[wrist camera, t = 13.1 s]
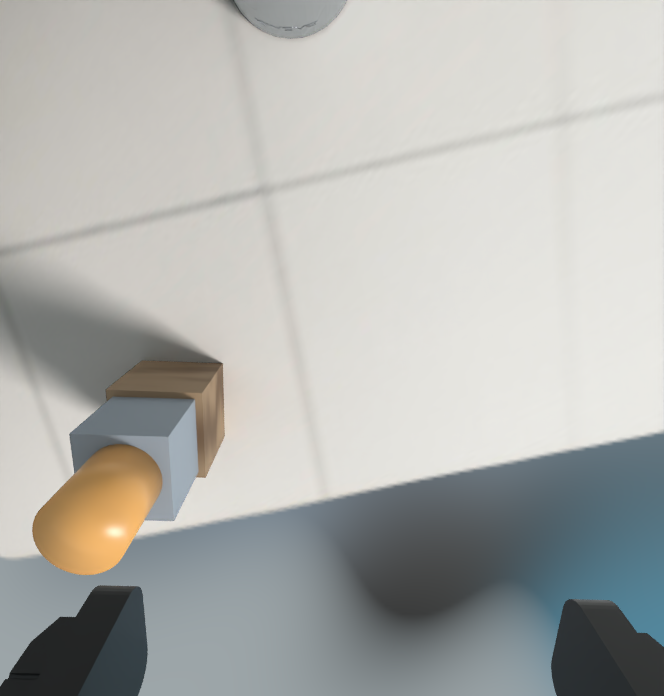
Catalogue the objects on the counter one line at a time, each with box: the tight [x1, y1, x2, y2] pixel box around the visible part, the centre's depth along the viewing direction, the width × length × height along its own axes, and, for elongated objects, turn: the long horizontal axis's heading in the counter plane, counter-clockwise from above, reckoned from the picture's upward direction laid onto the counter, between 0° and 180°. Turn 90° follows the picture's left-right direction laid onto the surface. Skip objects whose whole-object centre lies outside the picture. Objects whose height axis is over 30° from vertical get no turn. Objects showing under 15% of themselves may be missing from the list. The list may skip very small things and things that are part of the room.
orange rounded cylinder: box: [32, 444, 163, 575], centre depth 27 cm, size 5×5×6 cm
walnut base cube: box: [106, 361, 225, 478], centre depth 39 cm, size 7×7×7 cm
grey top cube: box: [69, 397, 199, 521], centre depth 33 cm, size 6×6×6 cm
